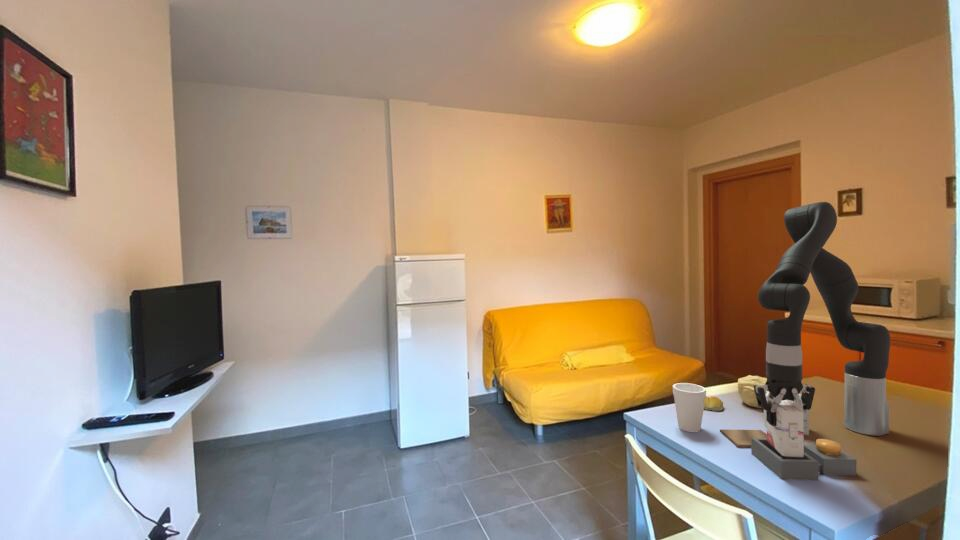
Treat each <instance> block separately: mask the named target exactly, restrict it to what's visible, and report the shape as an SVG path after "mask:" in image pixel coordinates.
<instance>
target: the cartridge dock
mask: <svg viewBox="0 0 960 540" xmlns="http://www.w3.org/2000/svg"><path fill="white" fill-rule="evenodd" d="M750 449H751V450H750V451H751V455H752V456H753V457H755V458H756V459H757V460H758V461H759V462H760V463H762V464H763V465H764V466H765V467H766V468H767V469H769V470H770V471H771V472H772V473H773V474H775V475H776V476H777V477H778V478H779V479H781V480H798V481H799V480H800V481H802V480H803V481H805V480H806V481H807V480H809V481H812V480H813V481H819V479H820V478H819V474H821V475H824V476H825V475H826V476H827V475H829V476H857V458H854V457H853V456H851V455H850V454H848V453H846V452H845V451H843V450H841V453H839V455H825V454H824V453H822V452H821V451H819V450H818V448H817V447H816V444H804V457H788V456H782V455H781V454H780V453H779V452H778V451H777V450H776V449H775V448H774V447H773V446H772V445H771V444H770V443H769V442H768V441H767V438H752V439H751V448H750ZM784 458H785V459H784Z"/></svg>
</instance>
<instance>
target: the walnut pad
mask: <svg viewBox="0 0 960 540" xmlns="http://www.w3.org/2000/svg"><path fill="white" fill-rule="evenodd" d="M719 433H721V434H722V435H723V436H724V437H725V438H726V439H727V440H728V441H730V442H731V443H732V444H733V445H735V446H736V448H749V449H751V439H752V438H767V432H764V431H763V430H761V429H719Z"/></svg>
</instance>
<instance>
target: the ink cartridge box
mask: <svg viewBox="0 0 960 540" xmlns="http://www.w3.org/2000/svg"><path fill="white" fill-rule="evenodd" d="M775 412H776V426H772V425H770V424H769V422H767V428H766V434H767V441H768V442H769V443H770V444H771V445H772V446H773V447H774V448H775V449H776V450H777V451H778V452H779V453H780V454H781V455H782V456H781V457H783V456H788V457H804V445H805V444H804V442H805V441H804V436H805V435H804V413H803V405H802V400H801V399H800V398H798V397H797V396H796V403H792V402H791V403H790V401H789V400H782V401H781V403H780V405H778V406H777V408H776V411H775Z"/></svg>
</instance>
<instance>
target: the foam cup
mask: <svg viewBox="0 0 960 540" xmlns="http://www.w3.org/2000/svg"><path fill="white" fill-rule="evenodd" d="M672 394H673V399H674V406H675V411H676V419H677V426H678V428H679V429H680V430H683V431H686V432H690V433H696V432H700V431H701V428H702V422H703V414H704V403H705V398H706V396H707V389H706V387H704V386H702V385H698V384H695V383H689V382H680V383H679V382H678V383H674V384H672Z"/></svg>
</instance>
